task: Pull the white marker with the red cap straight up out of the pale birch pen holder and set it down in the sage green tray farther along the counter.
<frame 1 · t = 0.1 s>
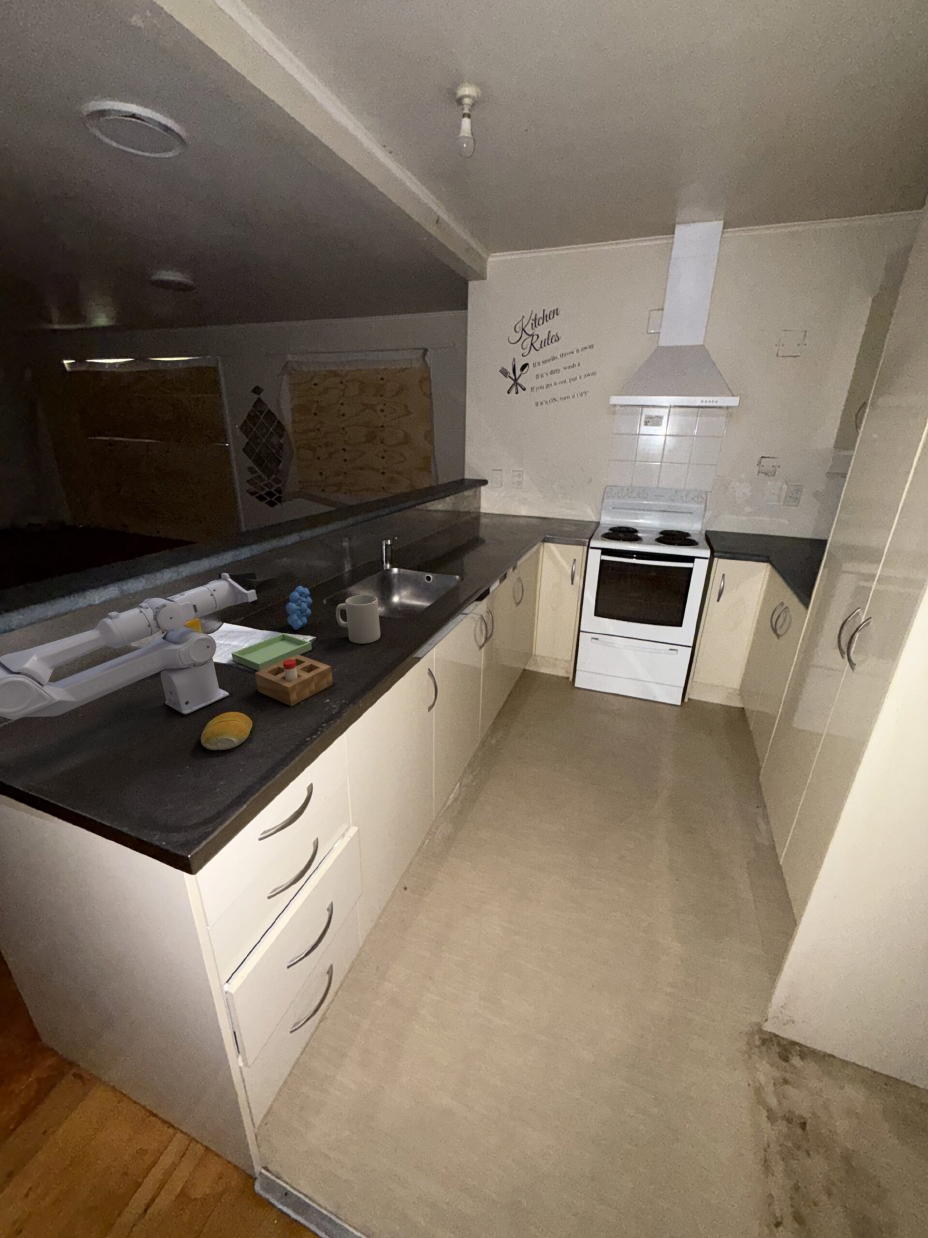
hand: (265, 578, 109), 22 cm above the counter, tool horizontal, fingers open, 7 cm apart
pen holder: (296, 687, 106), on the counter
tray: (273, 654, 122), on the counter
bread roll: (228, 738, 89), on the counter
supplement box: (188, 662, 119), on the counter
marker: (294, 695, 103), resting in pen holder
mug: (358, 637, 133), on the counter
grapes: (299, 627, 140), on the counter
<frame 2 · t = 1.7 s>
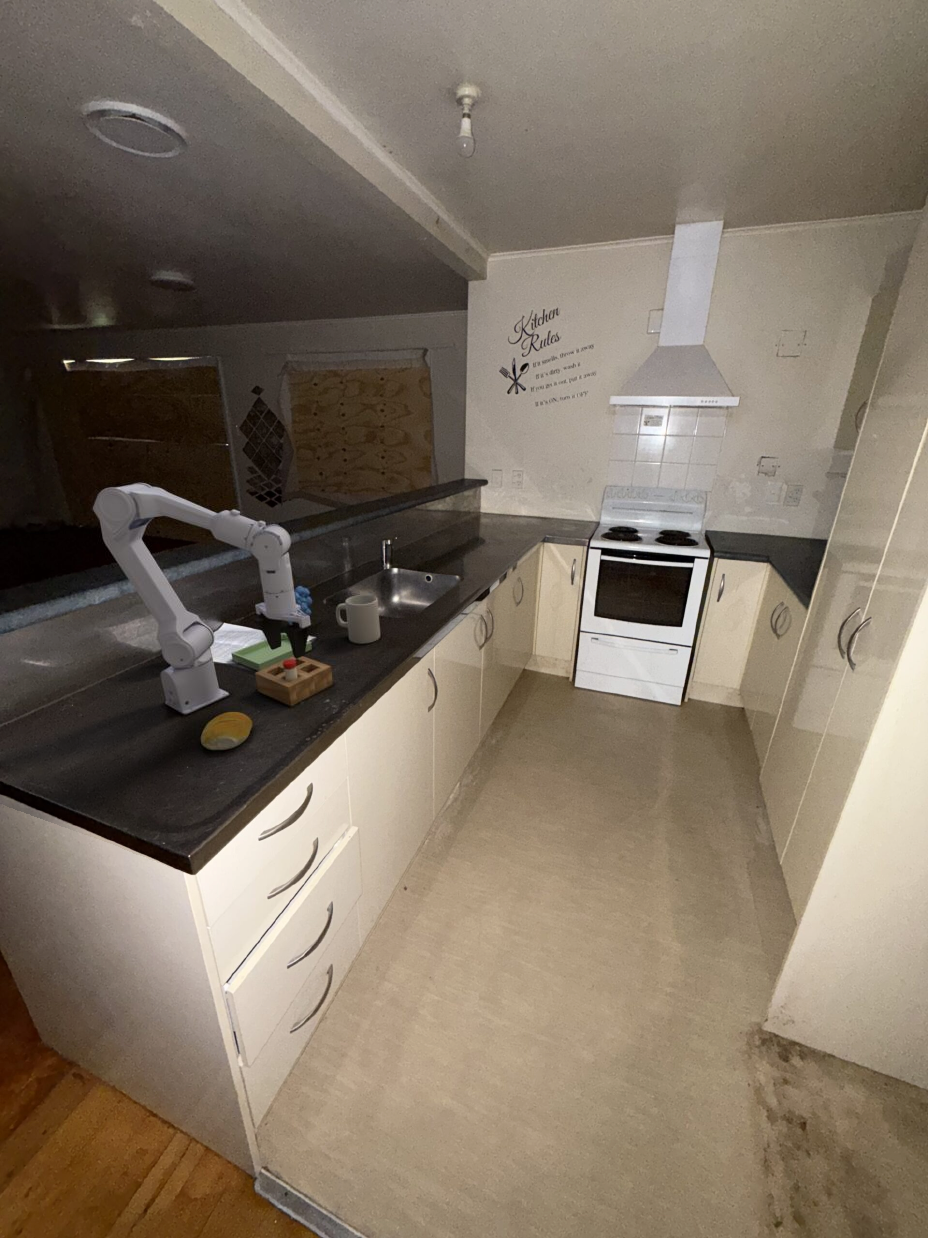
hand: (287, 652, 100), 10 cm above the counter, tool pointing down, fingers open, 7 cm apart
nothing on the counter moved.
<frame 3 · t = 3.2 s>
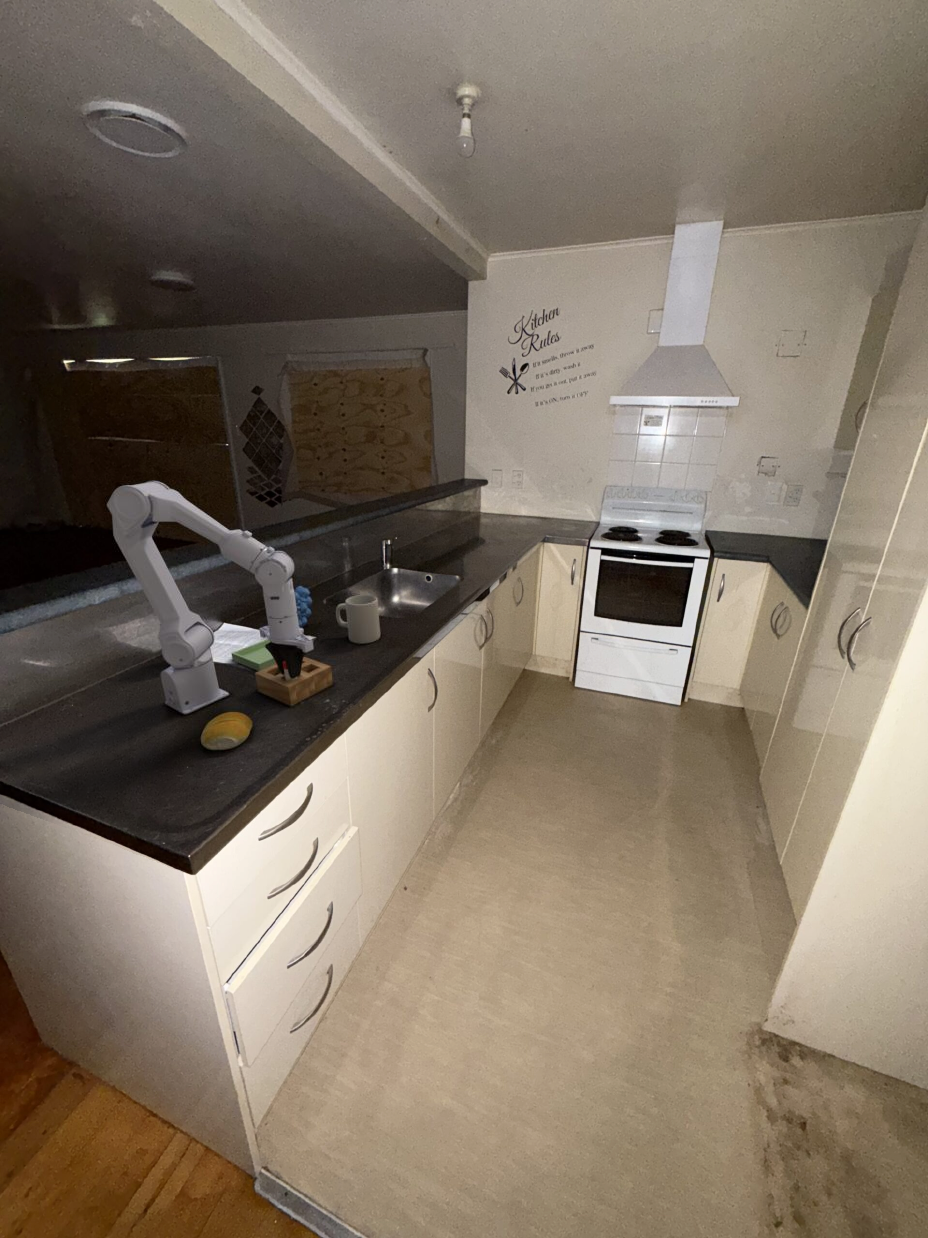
hand: (291, 674, 101), 5 cm above the counter, tool pointing down, fingers closed on marker, 2 cm apart
marker: (294, 695, 103), resting in pen holder, touching gripper
everything else where it was.
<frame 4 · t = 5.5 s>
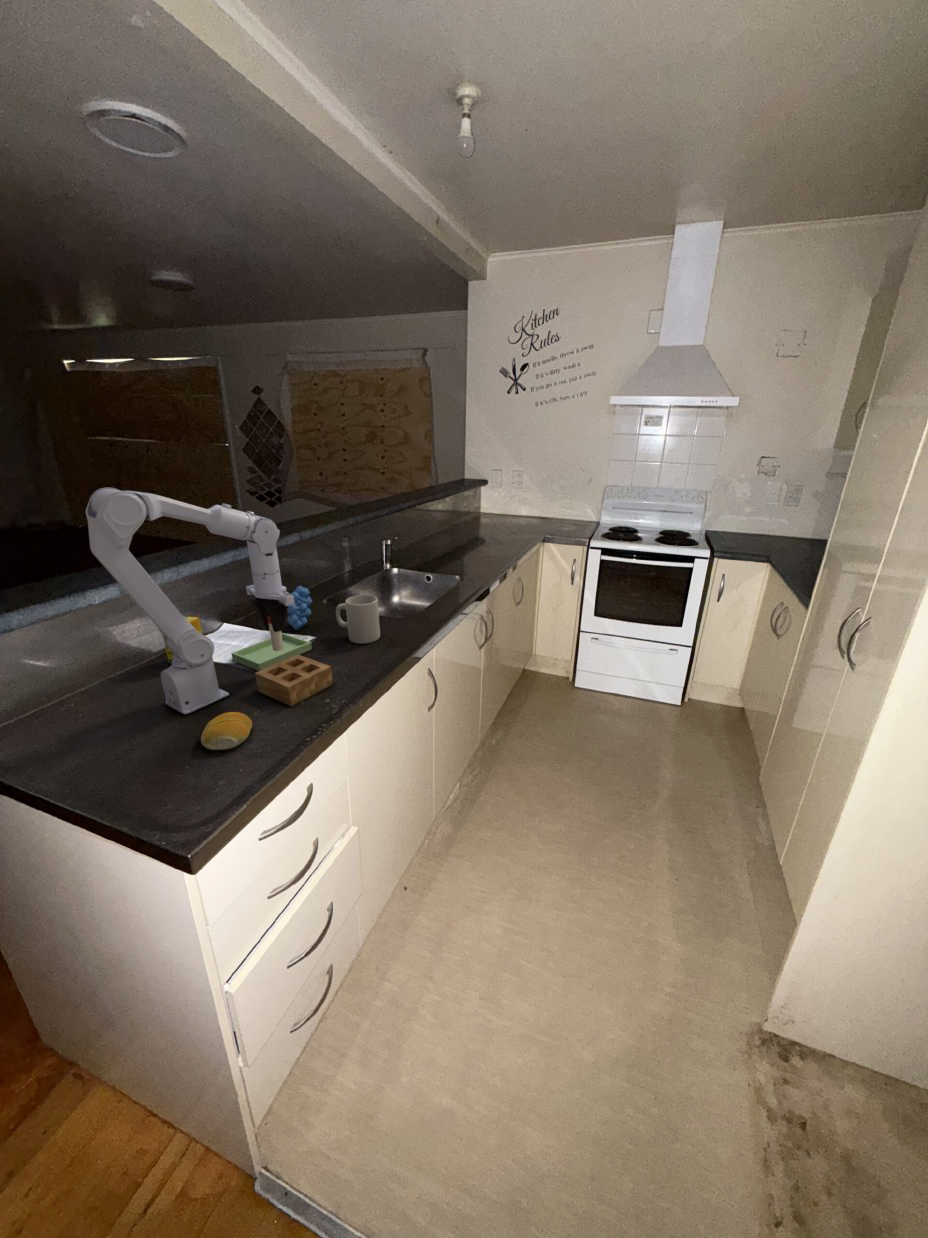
hand: (274, 629, 111), 10 cm above the counter, tool pointing down, fingers closed on marker, 2 cm apart
marker: (278, 649, 113), point 5 cm above the counter, touching gripper
everything else where it was.
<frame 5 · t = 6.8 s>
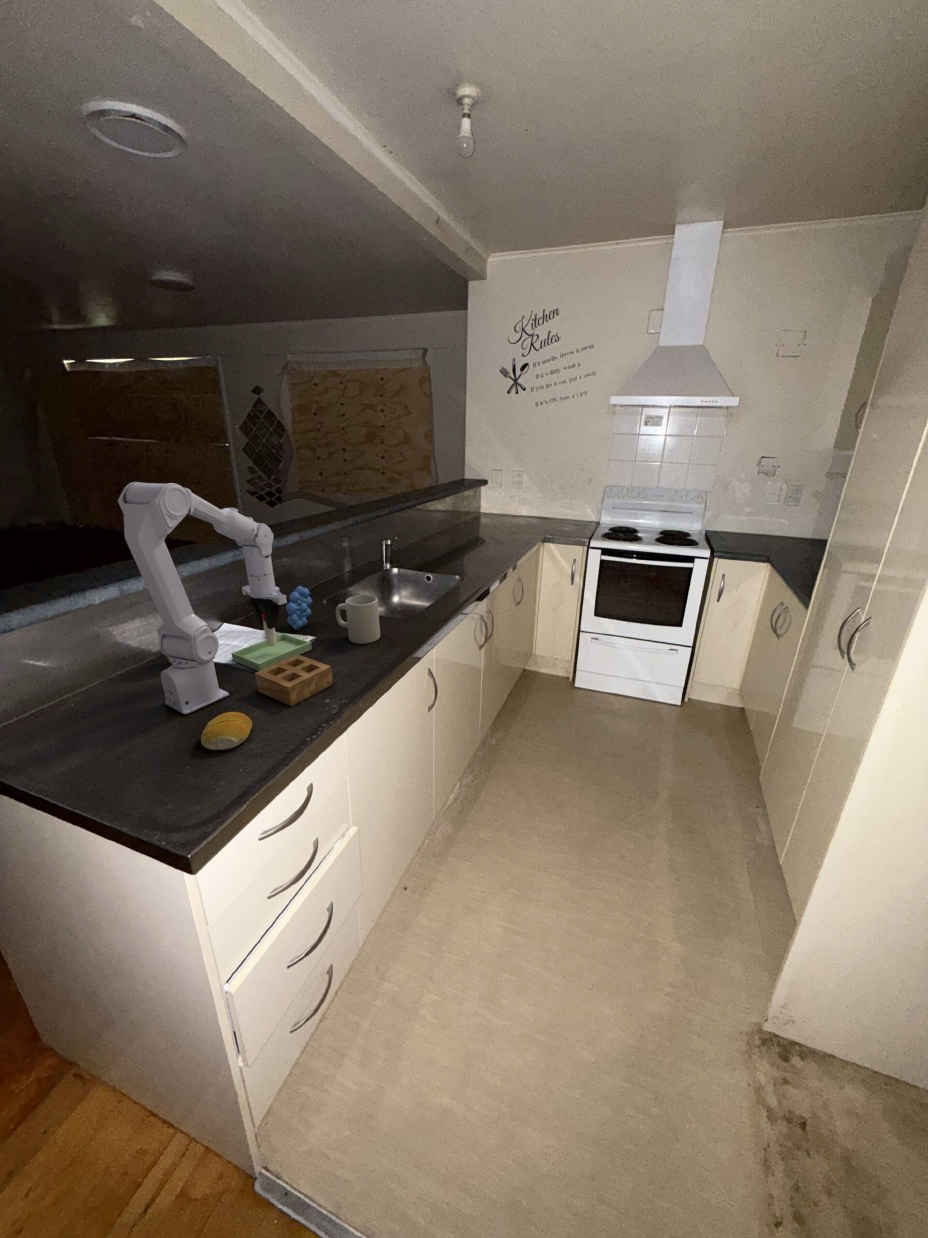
hand: (268, 626, 120), 8 cm above the counter, tool pointing down, fingers closed on marker, 2 cm apart
marker: (272, 644, 122), point 3 cm above the counter, touching gripper
everything else where it was.
when the fingers open (5 cm above the counter, at t = 7.7 s): marker stays where it is, resting on tray.
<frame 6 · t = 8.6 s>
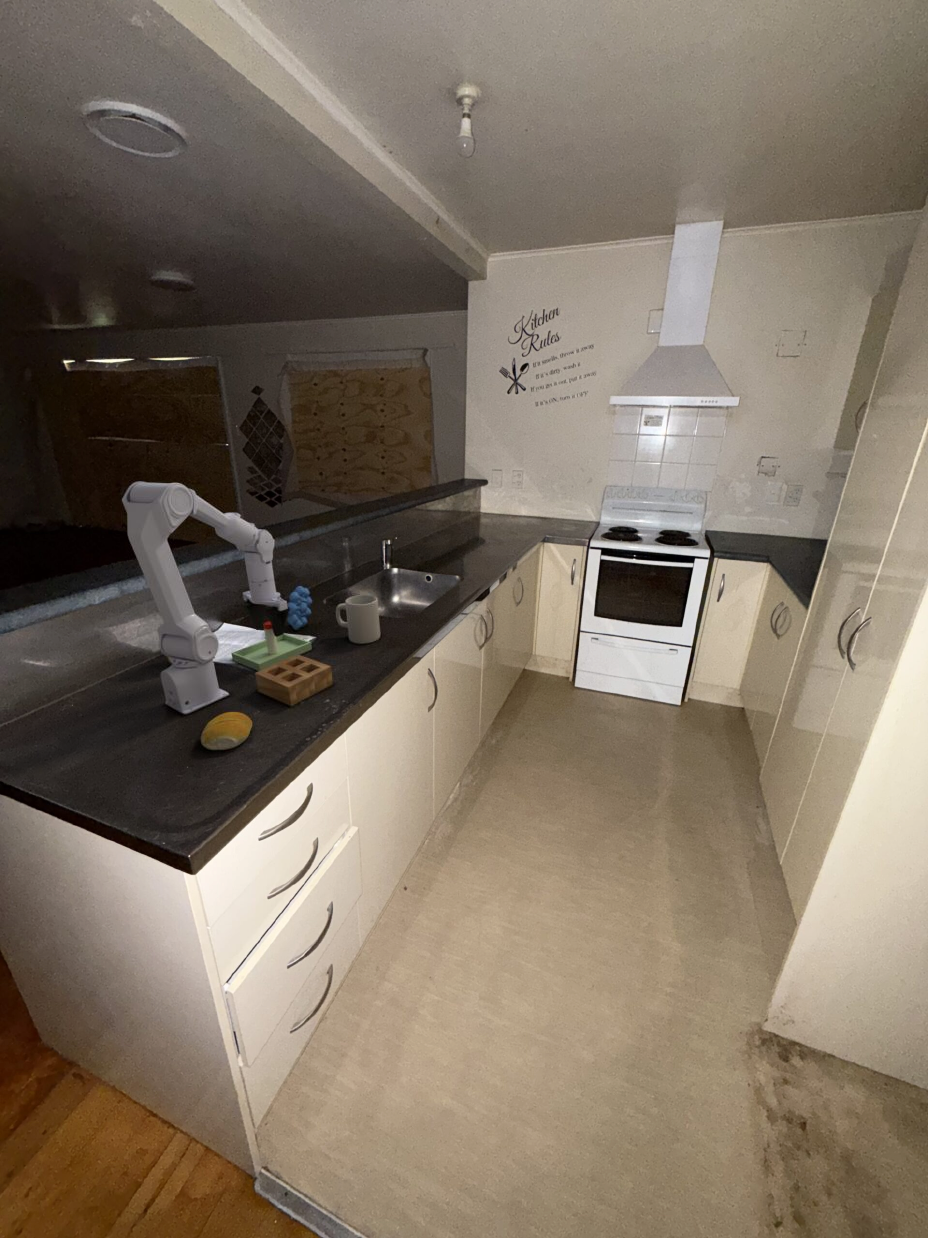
hand: (269, 631, 120), 6 cm above the counter, tool pointing down, fingers open, 7 cm apart
marker: (273, 652, 122), resting on tray
everything else where it was.
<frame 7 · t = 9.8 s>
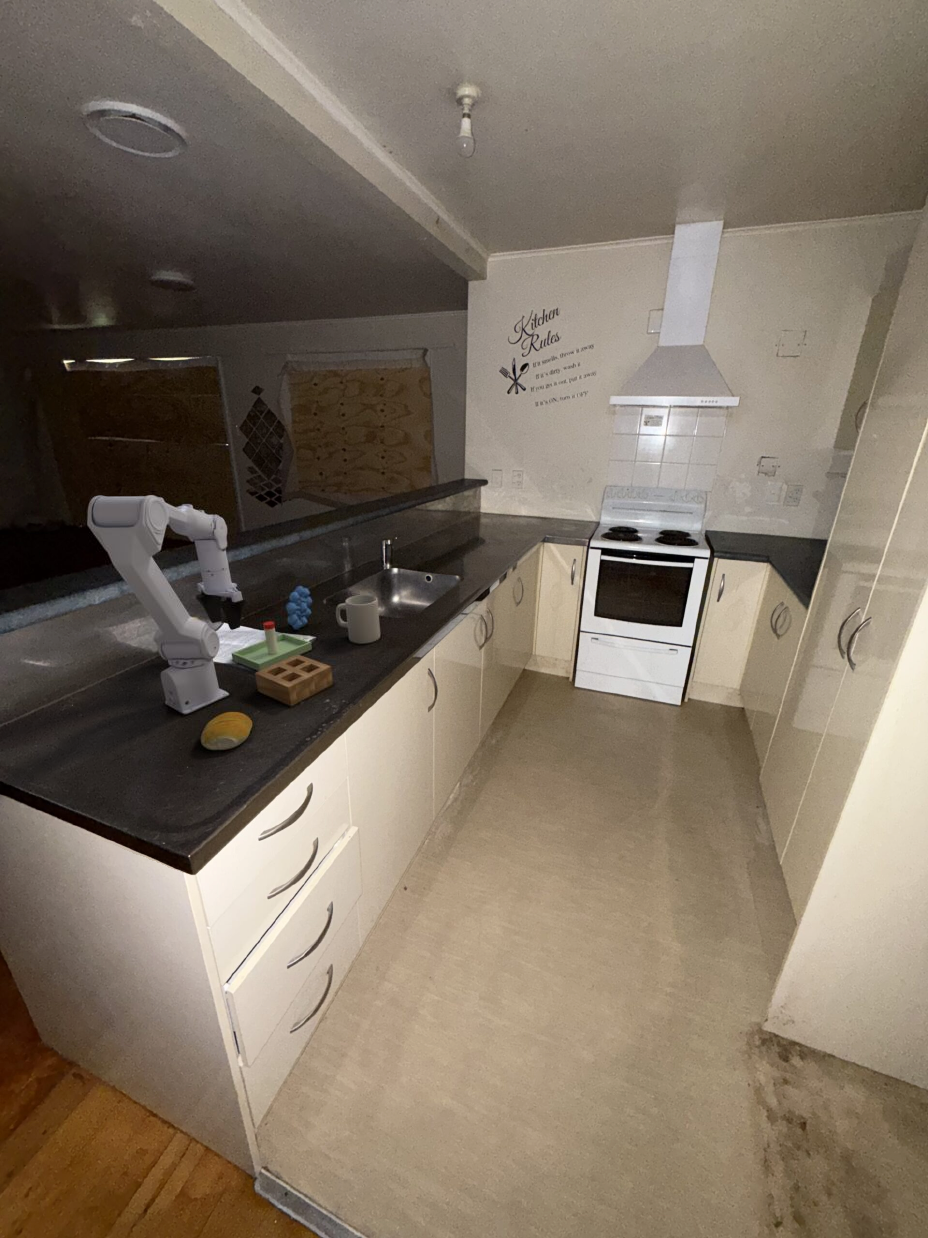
hand: (225, 625, 113), 10 cm above the counter, tool pointing down, fingers open, 7 cm apart
nothing on the counter moved.
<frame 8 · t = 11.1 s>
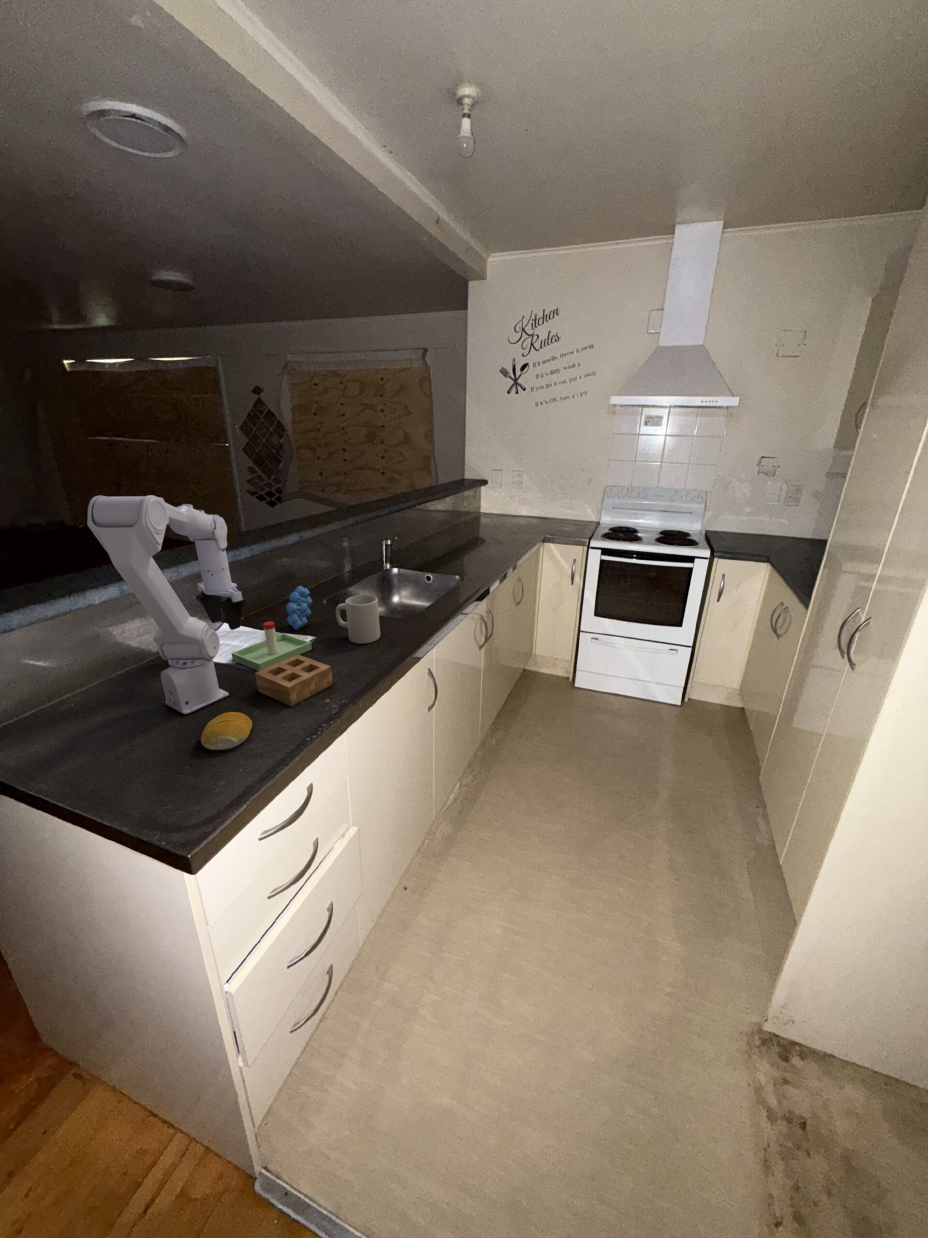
hand: (225, 625, 113), 10 cm above the counter, tool pointing down, fingers open, 7 cm apart
nothing on the counter moved.
at the end: marker inside the target area in the tray (0.1 cm from its centre), point 0.5 cm above the tray's base; marker moved 23.9 cm from its start; the gripper is holding nothing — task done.
